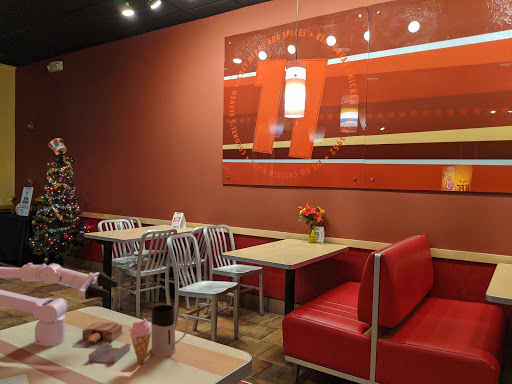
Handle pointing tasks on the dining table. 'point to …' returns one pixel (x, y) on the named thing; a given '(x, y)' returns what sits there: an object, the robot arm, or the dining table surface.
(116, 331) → the bridge block
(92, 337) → the axle
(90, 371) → the dining table surface
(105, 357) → the v block
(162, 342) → the glass holder
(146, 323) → the ice cream cone
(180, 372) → the dining table surface
